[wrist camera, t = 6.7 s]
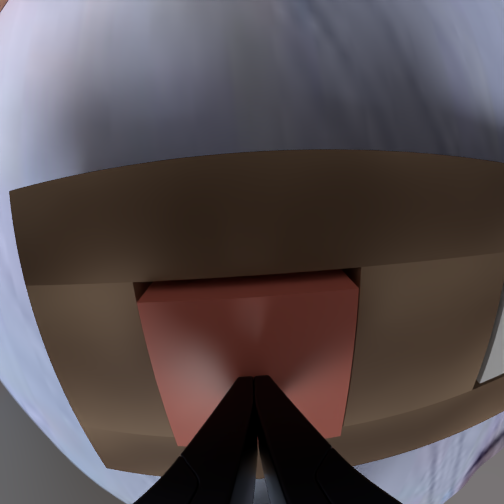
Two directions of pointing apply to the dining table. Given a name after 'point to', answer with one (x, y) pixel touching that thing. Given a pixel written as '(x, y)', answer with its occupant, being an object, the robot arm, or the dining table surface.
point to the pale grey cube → (494, 347)
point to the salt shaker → (2, 3)
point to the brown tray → (274, 262)
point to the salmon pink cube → (252, 342)
